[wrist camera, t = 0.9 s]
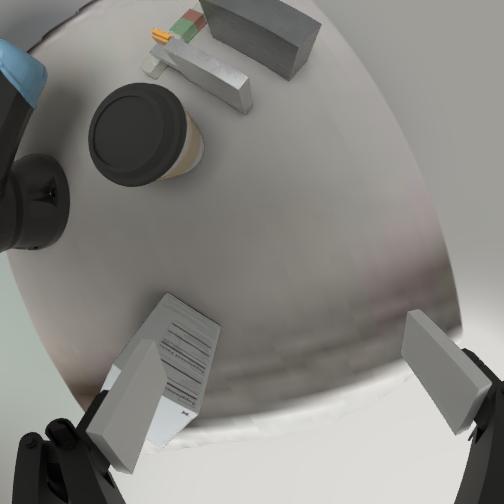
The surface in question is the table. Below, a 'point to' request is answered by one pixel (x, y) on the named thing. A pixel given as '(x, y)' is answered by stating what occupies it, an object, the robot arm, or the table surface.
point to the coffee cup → (143, 136)
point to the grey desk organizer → (249, 32)
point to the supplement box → (174, 363)
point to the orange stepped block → (161, 36)
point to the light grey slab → (207, 72)
